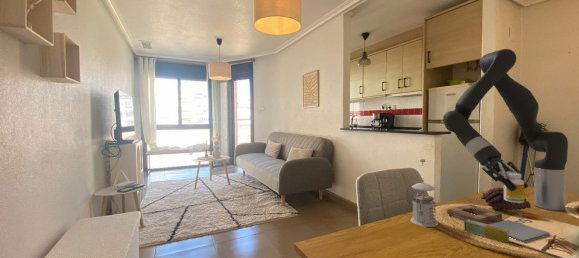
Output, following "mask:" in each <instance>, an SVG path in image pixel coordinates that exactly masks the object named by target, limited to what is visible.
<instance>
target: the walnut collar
mask: <svg viewBox="0 0 579 258" xmlns="http://www.w3.org/2000/svg"><path fill="white" fill-rule="evenodd" d="M471 213H472V214H471ZM446 214H449V215H451V216H453V217H452V218H454V217H455V218H454V219H457V218H458V220H459V219H460V220H459V221H462V222H464V221H465V220H466V219H469V220H473V221H476V222H480V223H484V224H488V225H489V224H493V223H497V222H501V221H503V213H500V212H497V211H494V210H491V209H486V208H485V207H481V206H477V205H474V204H467V205H462V206H456V207H452V208H447V210H446ZM474 214H475V215H474ZM451 216H450V217H451Z"/></svg>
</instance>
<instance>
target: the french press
mask: <svg viewBox="0 0 579 258" xmlns="http://www.w3.org/2000/svg"><path fill="white" fill-rule="evenodd" d="M419 162H420V163H421V164H422V165H424V163H425V162H426V159H424V158H421V159H419ZM411 188H412V189H413V190H416V191H421V192H422V193H421V194H419V192H417V193H416V194H415V195H413V199H412V217H411V218H410V222H411V223H413V224H415V225H416V226H420V227H425V228H427V227H428V228H429V227H430V228H433V227H437V226H436V224H437V222H438V221H437V219H436V202H435V200H434V199H435V197H433V196H431V195H427V194H425V193H424V192H430V191H431V192H432V191H434V190H435V189H436V187H434V186H433V185H431V184H429V183H425V182H424V179H422V182H419V183H417V182H416V183H415V184H413V185H412V186H411Z"/></svg>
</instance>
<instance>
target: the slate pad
mask: <svg viewBox="0 0 579 258" xmlns="http://www.w3.org/2000/svg"><path fill="white" fill-rule="evenodd" d="M488 225H492V226H495V227H499V228H503V229H507V230H509V237H511V238H510V239H512V238H513V239H512V240H514V239H516V240H515V241H517V240H518V242H520V241H521V242H520V243H523V242H524V243H527V242H531V241H534V240H537V239H540V237H541V238H544V237H547V235H548V236H550V234H551V233H550V232H549V231H546V230H543V229H539V228H536V227H532V226H530V225H526V224H522V223H519V222H516V221H513V220H510V219H506V220H500V221H496V222H492V223H488ZM543 236H544V237H543Z"/></svg>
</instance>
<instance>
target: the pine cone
mask: <svg viewBox="0 0 579 258" xmlns="http://www.w3.org/2000/svg"><path fill="white" fill-rule="evenodd" d="M480 199H482V200H484V201H485V202H486V203H487V205H488V207H489V206H490V207H491V208H492V209H495V210H496V211H501V210H503V211H504V210H505V211H508V210H511V211H516V210H517V211H521V210H526V209H530V208H532V207H531V203H530V201H529V200H528V201H527V199H526V198H525V197H524V202H523V203H514V202H509V201H506V200H504V187H494V188H491V189H489V190H488V191H487V192H482V195H481V196H480Z"/></svg>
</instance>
